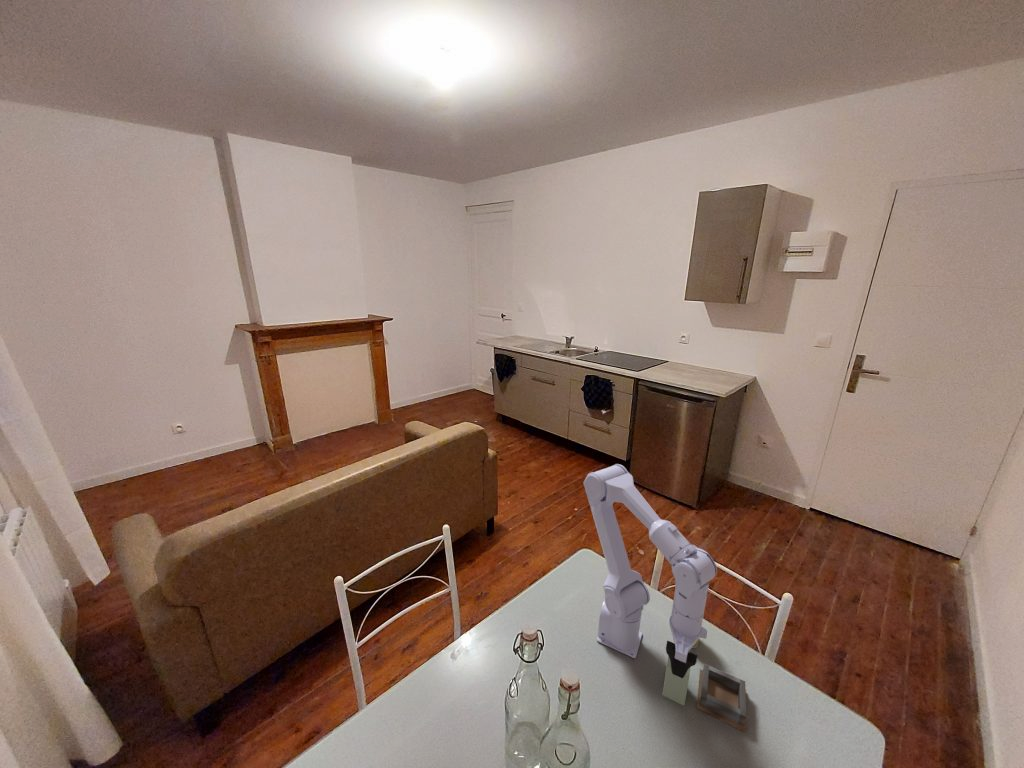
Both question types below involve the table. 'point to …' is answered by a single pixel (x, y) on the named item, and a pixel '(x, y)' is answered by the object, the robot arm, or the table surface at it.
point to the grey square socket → (722, 697)
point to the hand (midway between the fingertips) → (679, 659)
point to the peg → (675, 685)
